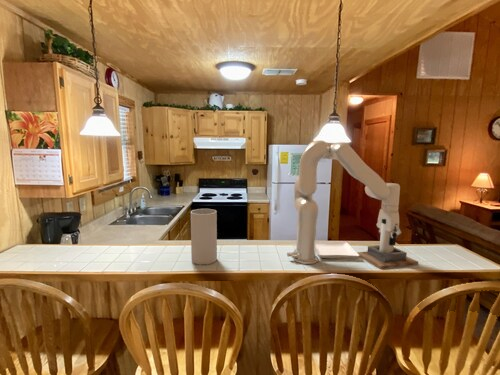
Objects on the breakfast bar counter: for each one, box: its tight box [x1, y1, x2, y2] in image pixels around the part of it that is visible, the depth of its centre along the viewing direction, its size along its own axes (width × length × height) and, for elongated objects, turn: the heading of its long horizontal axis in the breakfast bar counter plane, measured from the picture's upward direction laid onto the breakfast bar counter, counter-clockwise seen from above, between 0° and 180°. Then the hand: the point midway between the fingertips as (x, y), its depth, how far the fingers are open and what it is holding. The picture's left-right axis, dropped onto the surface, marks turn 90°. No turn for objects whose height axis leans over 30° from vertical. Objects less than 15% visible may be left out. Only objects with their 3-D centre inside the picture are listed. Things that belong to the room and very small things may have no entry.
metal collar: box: [367, 244, 407, 263], centre depth 139 cm, size 12×12×4 cm
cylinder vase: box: [190, 208, 218, 265], centre depth 135 cm, size 12×12×25 cm
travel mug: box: [379, 219, 395, 254], centre depth 138 cm, size 6×7×20 cm
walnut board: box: [356, 250, 419, 270], centre depth 139 cm, size 22×18×2 cm
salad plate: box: [315, 240, 360, 260], centre depth 148 cm, size 21×21×3 cm
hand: (387, 242), depth 138 cm, fingers closed on travel mug, 6 cm apart
